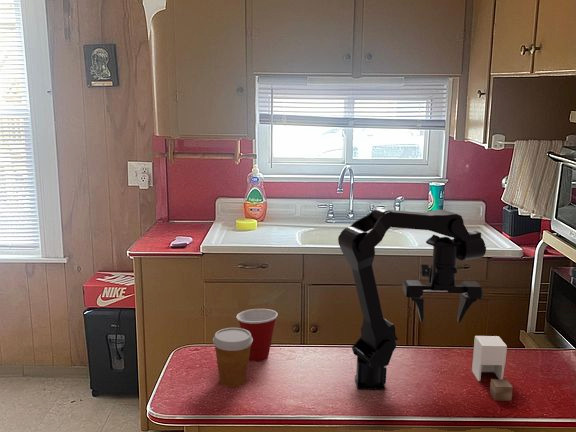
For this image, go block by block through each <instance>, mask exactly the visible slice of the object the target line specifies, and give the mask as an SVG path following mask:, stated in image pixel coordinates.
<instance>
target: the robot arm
mask: <svg viewBox="0 0 576 432" xmlns="http://www.w3.org/2000/svg"><path fill="white" fill-rule="evenodd" d="M390 228H396V229H408V230H409V229H410V230H420V231H421V230H422V231H430V232H433V233H436V234H439V235H443V236H438V235H436V234H432V236H431V237H429V238H428V239H426V241H425V244H426V245H429V246H432V248H433V250H432V251H433V252H432V262H431V265H430V267H429V264H420V265H419V277H420V278H426V281H427V282H428V283H429V284H422V283H421V282H420V280H419V279H417V280H415V279H413V280H411V279H406V280H404V281H403V283H402V292H403V294H404V296H405V297H406V298H409V299H410V300H411V301H413V302H414V303H415V305H416V309H417V314H418V317H419V321H420V322H421V323H424V314H425V313H424V312H425V311H424V309H425V307H424V305H425V304H424V301H425V300H424V297H423V295H424V293H427V294H429V293H431V294H437V293H438V294H459V302H458V304H459V305H458V309H457V315H456V317H457V319H456V321H457V323H458V324H460V323H461V322H462V320H463V318H464V317H465V314H466V313H467V312H468V310H469V309H470V307H471V306H472V305H473V303H477V302H478V300H481V299H483V298H484V288H483V287H482V286H481V285H480V284H479V283H478V282H477V281H475V280H473V281H472V280H470V281H469V280H462V281H461V284H459V285H456V274H457V273H458V269H457V260H459V261H468V260H474V259H475V260H476V259H482V258H483V257H484V256H485V254H486V252H487V246H486V242H485V241H484V239H483V238H482V232H481V231H480V232H479V231H477V230H472V231H468V229H467V227H466V226H465V223H464V218H463V216H462V215H460V214H458V213H455V212H451V211H448V210H445V209H433V210H429V211H426V212H419V211H407V210H398V209H386V208H383V207H377V208H375V209H373V210H372V211H371V212H369V213H368V214H366V215H365V216H363V217H361V218H360V219H357V220H356V221H354V222H353V223H352V224H350V225H349V226H347V227H345V228H344V229H343V230H342V231H340V234H339V235H338V238H337V241H338V245H339V247H340V250H341V252H342V255H343V257H344V259H346V261H347V263H348V264H349V266H350V267H351V270H352V275H353V279H354V285H355V289H356V292H357V297H358V301H359V307H360V310H361V313H362V314H361V315H362V317H363V322H362V325H361V327H360V334H361V336H360V337H359V338H358V339H357V340H356V341H355V343H354V344H353V345H352V346H351V349H352V353H353V355H355V356H356V370H355V371H356V372H355V375H354V380H355V384H356V388H357V390H377V391H379V390H381V391H384V390H385V388H386V387H385V385H386V384H387V383H386V382H387V370H388V369H387V367H388V366H389V364H390V361H391V358H392V356H393V354H394V351H395V349H396V348H397V341H398V340H399V339H398V337H397V334H396V326H395V324H394V323H392V322H390V321H389V320H387V319H386V318H384V313H383V309H382V305H381V304H382V303H381V300H380V296H379V291H378V286H377V282H376V277H375V273H374V268H373V263H374V260H375V256H376V247H377V245H379V244H380V243H381V242H382V241H383V239H384V237H385V235H386V233H387V232H388V231H389V230H390Z"/></svg>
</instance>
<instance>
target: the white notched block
mask: <svg viewBox="0 0 576 432" xmlns="http://www.w3.org/2000/svg"><path fill="white" fill-rule="evenodd" d="M473 343H474V344H473V354H472V364H471V365H472V366H471V372H472V374H473V375H474V376H475V378H476V380H477V381H478V382H481V380H482V377H481V376H482V373H494V374H495V376H496V377H497V379H504V373H505V371H504V370H505V366H506V363H507V362H506V361H507V359H506V358H507V350H508V346H507V344H506V343H505V342H504V341H503V339H502V338H501V337H500V336H499V335H498V336H497V335H493V336H492V335H475V336H474V342H473Z"/></svg>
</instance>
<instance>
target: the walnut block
mask: <svg viewBox="0 0 576 432" xmlns="http://www.w3.org/2000/svg"><path fill="white" fill-rule="evenodd" d="M489 393H490V395H491V397H492V398H493V400H494V401H509V402H511V401H512V398H513V384H511V382H510V381H509V380H508V378H507V379H506V378H505V379H504V378H503V379H499V378H490V386H489Z"/></svg>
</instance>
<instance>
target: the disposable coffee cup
mask: <svg viewBox="0 0 576 432" xmlns="http://www.w3.org/2000/svg"><path fill="white" fill-rule="evenodd" d="M252 342H253V338H252V337H251V333H250V332H249V331H248V330H245V329H241V327H226V328H222V329H220V330H218V331H216V332H215V334H214V337H213V338H212V343H213V345H214V347H215V348H214V349H215V355H216V356H215V357H216V364H217V370H218V378H219V384H221V385H222V386H224V387H226V388H237V387H242V386H243V385H244V384H245V383H246V381H247V375H248V368H249V361H250V360H249V355H250V347H251V344H252Z"/></svg>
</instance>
